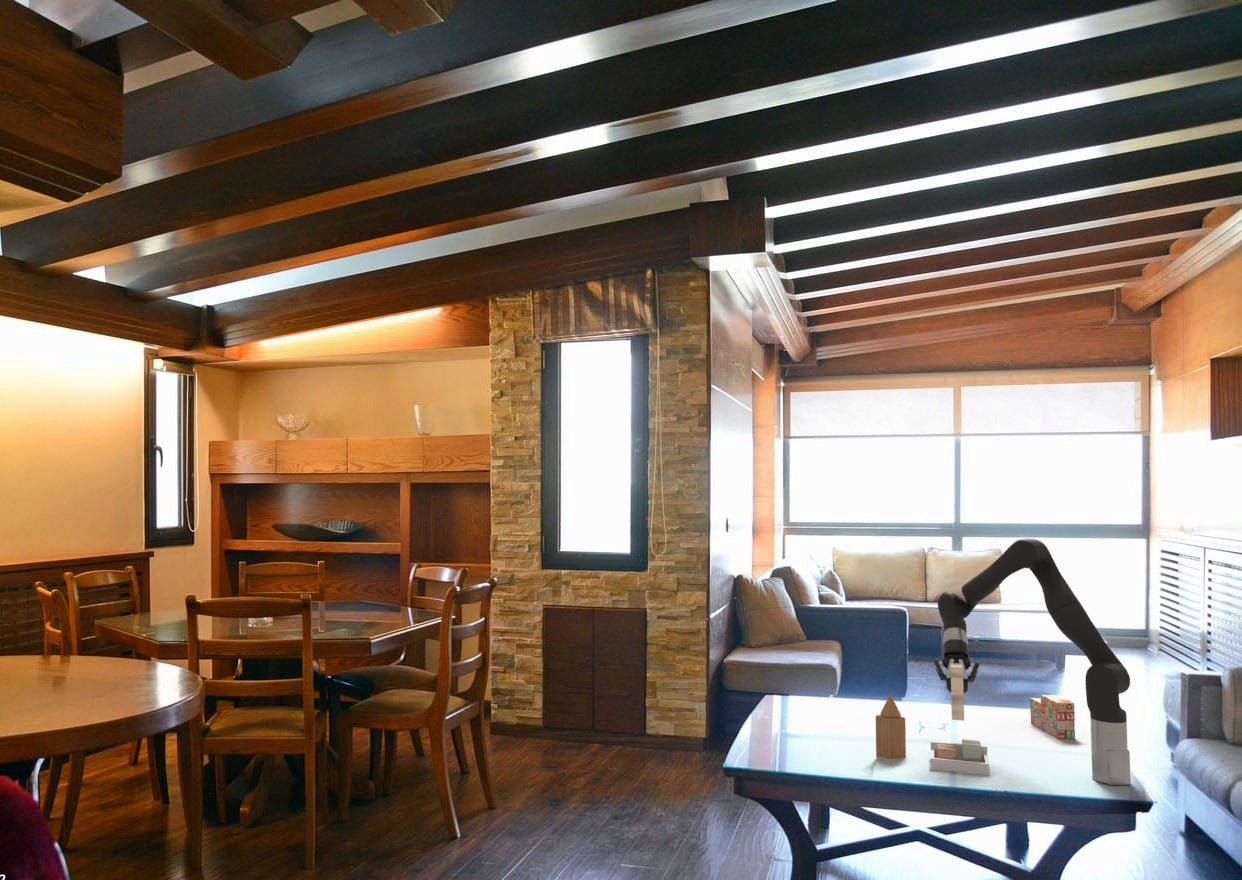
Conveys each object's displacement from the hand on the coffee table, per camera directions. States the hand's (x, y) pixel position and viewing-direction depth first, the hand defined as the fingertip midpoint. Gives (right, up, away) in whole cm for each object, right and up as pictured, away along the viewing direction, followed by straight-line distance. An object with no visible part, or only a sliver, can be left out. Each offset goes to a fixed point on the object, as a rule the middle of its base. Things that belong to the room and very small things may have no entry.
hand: (957, 691), depth 274 cm
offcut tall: (0, -19, -10) cm, 22 cm away
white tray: (-1, -21, -4) cm, 22 cm away
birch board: (+1, -9, +1) cm, 9 cm away
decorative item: (-20, -22, +2) cm, 30 cm away
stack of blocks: (+48, -25, +40) cm, 68 cm away
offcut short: (-6, -20, -8) cm, 22 cm away
